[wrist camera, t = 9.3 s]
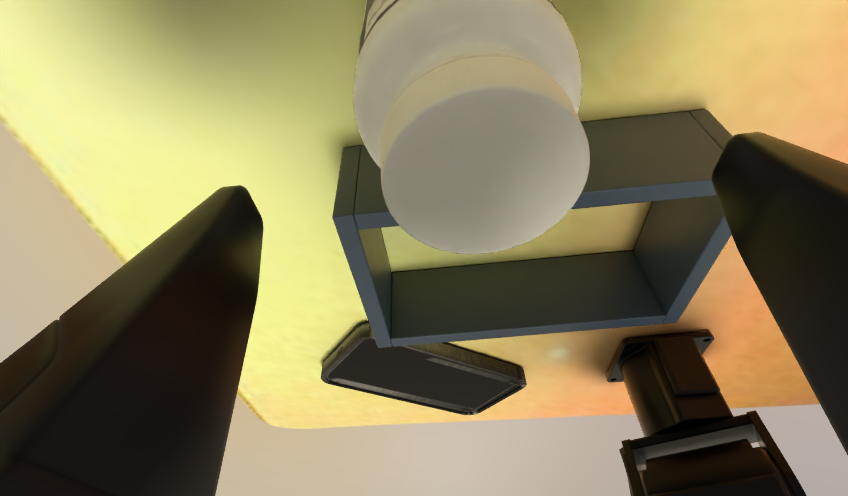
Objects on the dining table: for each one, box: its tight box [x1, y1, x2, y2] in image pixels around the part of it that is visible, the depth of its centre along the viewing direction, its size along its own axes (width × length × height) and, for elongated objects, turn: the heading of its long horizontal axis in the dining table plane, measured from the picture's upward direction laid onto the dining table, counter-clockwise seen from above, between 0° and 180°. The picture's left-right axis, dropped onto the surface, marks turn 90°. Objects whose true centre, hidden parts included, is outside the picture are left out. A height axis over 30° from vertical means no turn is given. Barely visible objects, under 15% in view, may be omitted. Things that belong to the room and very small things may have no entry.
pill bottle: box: [353, 0, 590, 254], centre depth 11 cm, size 5×5×10 cm
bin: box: [333, 110, 733, 348], centre depth 20 cm, size 10×16×4 cm, turn 95°
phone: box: [321, 323, 527, 415], centre depth 33 cm, size 8×1×15 cm
